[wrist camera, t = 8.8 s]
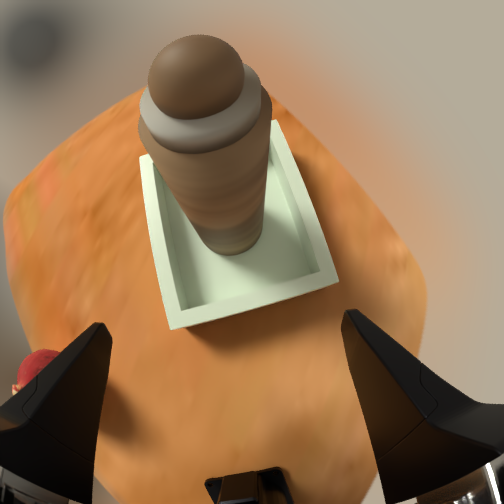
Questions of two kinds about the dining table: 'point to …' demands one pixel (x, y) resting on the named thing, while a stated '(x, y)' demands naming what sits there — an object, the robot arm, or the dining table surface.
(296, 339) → the dining table surface
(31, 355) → the pomegranate
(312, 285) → the serving tray
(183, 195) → the pepper mill
